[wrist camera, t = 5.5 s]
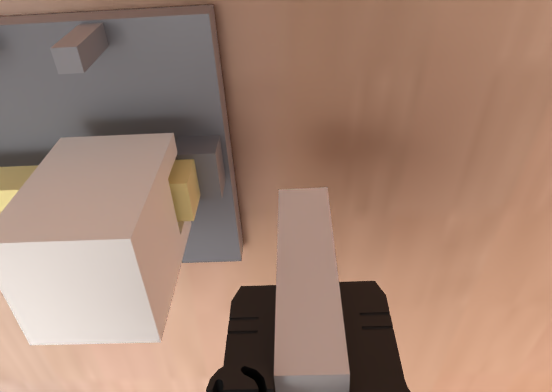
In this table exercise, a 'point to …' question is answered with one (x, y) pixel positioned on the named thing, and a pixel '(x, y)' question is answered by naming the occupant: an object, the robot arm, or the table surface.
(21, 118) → the cable comb
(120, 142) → the sleeve
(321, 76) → the table surface
